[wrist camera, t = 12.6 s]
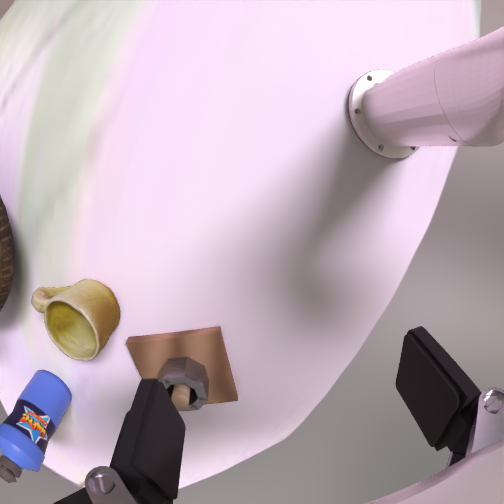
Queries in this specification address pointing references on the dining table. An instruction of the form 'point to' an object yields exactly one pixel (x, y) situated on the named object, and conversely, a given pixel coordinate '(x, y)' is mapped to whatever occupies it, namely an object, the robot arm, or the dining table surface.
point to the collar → (186, 380)
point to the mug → (78, 317)
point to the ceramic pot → (5, 255)
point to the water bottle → (32, 424)
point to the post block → (195, 347)
